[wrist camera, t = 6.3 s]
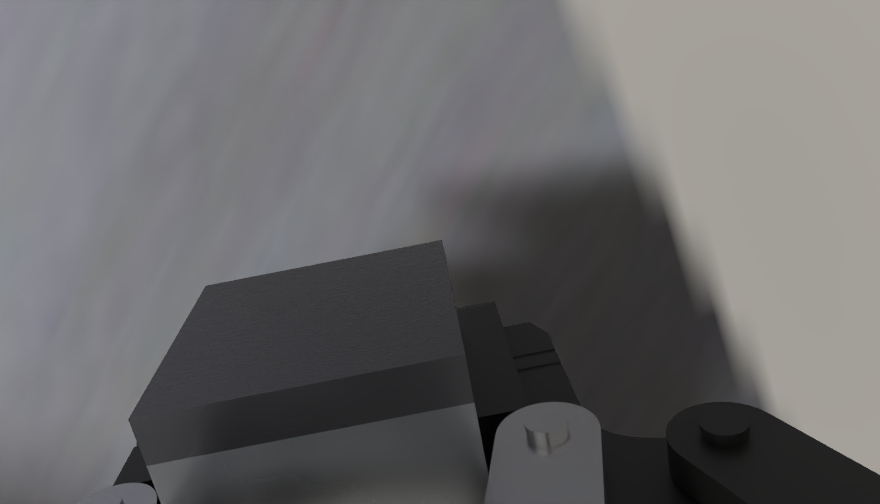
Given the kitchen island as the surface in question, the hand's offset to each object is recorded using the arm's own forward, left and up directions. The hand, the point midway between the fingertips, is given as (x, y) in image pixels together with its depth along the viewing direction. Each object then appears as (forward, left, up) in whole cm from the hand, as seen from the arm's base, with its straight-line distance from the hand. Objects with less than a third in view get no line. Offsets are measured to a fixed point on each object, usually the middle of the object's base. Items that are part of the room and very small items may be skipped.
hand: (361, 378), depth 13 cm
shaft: (+6, 0, +1) cm, 6 cm away
